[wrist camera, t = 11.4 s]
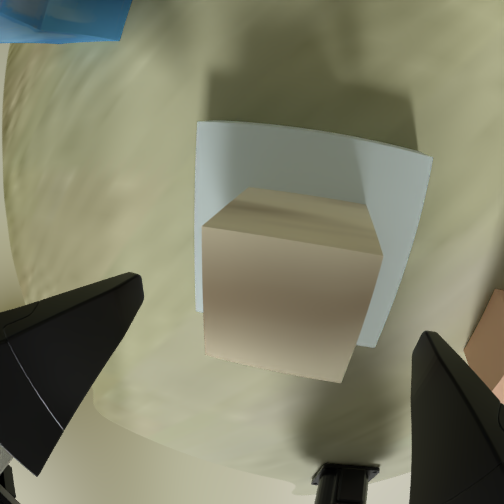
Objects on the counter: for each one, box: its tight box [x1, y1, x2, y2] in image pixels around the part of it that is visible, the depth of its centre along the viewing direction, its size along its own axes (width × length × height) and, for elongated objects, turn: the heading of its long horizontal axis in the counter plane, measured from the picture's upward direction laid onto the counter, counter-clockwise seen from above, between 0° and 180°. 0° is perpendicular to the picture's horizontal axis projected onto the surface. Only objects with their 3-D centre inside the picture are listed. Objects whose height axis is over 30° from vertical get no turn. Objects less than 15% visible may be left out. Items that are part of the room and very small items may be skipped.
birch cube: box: [202, 187, 383, 383], centre depth 11 cm, size 5×5×5 cm
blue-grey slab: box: [194, 120, 433, 348], centre depth 15 cm, size 10×10×3 cm
